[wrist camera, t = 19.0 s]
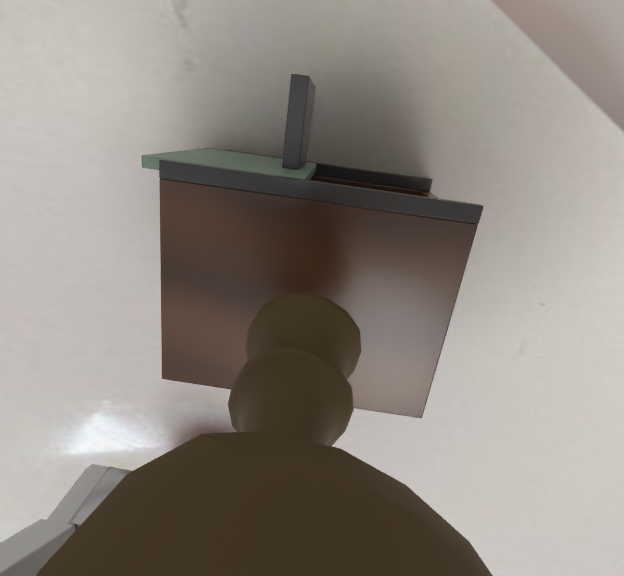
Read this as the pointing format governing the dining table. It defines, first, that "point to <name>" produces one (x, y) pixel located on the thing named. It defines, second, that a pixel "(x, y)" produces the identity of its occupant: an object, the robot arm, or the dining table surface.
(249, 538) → the kendama
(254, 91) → the dining table surface
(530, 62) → the dining table surface
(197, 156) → the door
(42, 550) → the robot arm
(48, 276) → the dining table surface
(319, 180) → the cabinet
